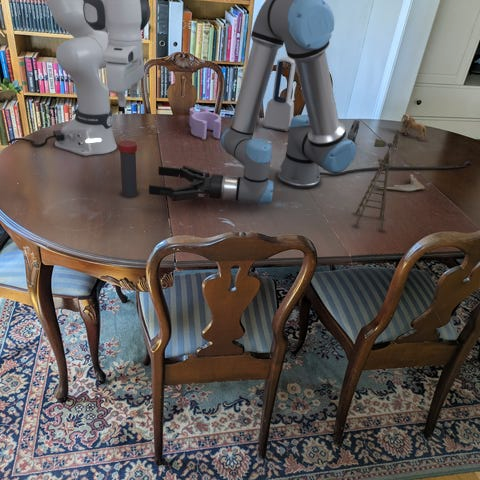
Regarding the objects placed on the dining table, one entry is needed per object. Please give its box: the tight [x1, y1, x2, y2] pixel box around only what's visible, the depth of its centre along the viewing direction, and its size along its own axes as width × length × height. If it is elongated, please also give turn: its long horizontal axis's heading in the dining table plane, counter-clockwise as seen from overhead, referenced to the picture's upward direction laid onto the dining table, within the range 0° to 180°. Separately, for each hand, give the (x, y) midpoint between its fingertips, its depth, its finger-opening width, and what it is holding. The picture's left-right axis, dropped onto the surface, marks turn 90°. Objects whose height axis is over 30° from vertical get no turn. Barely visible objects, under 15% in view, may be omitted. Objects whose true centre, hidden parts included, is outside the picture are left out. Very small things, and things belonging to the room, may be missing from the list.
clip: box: [188, 106, 222, 140], centre depth 199 cm, size 20×12×7 cm, turn 23°
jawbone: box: [377, 173, 426, 193], centre depth 169 cm, size 9×20×2 cm, turn 126°
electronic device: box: [262, 56, 296, 132], centre depth 204 cm, size 12×8×30 cm, turn 71°
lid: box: [117, 139, 138, 154], centre depth 139 cm, size 5×5×2 cm
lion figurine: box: [400, 113, 429, 141], centre depth 217 cm, size 15×5×9 cm, turn 50°
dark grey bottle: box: [119, 151, 138, 198], centre depth 143 cm, size 4×4×16 cm
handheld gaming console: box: [347, 119, 361, 144], centre depth 194 cm, size 23×3×10 cm, turn 161°
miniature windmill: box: [354, 129, 400, 232], centre depth 137 cm, size 9×8×30 cm
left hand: (128, 101), depth 132 cm, fingers open, 8 cm apart
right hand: (154, 179), depth 143 cm, fingers open, 13 cm apart
